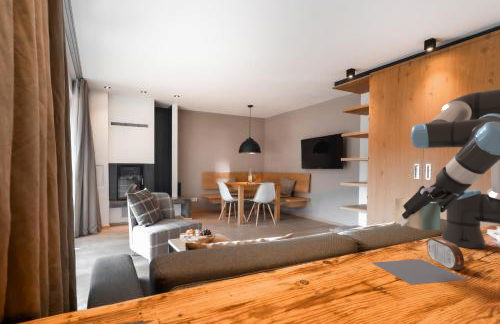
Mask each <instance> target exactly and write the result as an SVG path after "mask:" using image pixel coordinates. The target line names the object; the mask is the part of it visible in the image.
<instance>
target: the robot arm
mask: <svg viewBox="0 0 500 324" xmlns="http://www.w3.org/2000/svg"><path fill="white" fill-rule="evenodd" d="M410 139H411V144H412V145H413V147H414V148H415V149H440V148H441V149H444V148H448V149H449V148H460V150H459V151H458V152H457V153H456V154H455V155H454V156H453V157H452V158H451V160H450V161H449V162H447V163H446V164H445V166H444V167H442V169H440V171H439V172H438V173H437V174H436V175H435V182H434V183H433V184H431V185H430V186H429V187H425V186H424V185H422V186H420V187H419V189H418V191H416V193H415V194H414V195H412V197H410V198H411V199H410V200H408V201H407V202H406V203H405V204H404V205H403V207H404V209H405V210H406V211H405V212H404V213H403V214H402V215H401V216H400V217H399V218H398V221H399V223H398V224H400V226H401V227H405V226H406V224H407V223H408V222H409V221H410V220H411V219H412V218H413V217H414V216H415V213H416V212H417V211H419V210H420V209H421V208H422V207H423V206H426V205H428V204H429V203H430V202H436V203H439V206H440V214H442V213H444V212H446V223H445V226H444V228H443V231H442V233H441V237H440V238H442V239H444V240H446V241H449V242H451V243H453V244H455V245H457V246H458V247H460V248H466V249H467V248H468V249H476V250H477V249H485V248H486V240H485V237H484V235H483V232H482V229H481V222H482V223H489V224H495V225H496V224H497V225H500V88H499V89H491V90H485V91H480V92H479V91H476V92H471V93H467V94H465V95H462V96H459V97H456V98H455V99H452V100H450V101H449V102H447V103H445V104H444V105H443V107H442V108H441V110H440V112H439V113H438V114H437V115H436V116H435V117H434V118H433V119H432V120H431V121H429V122H428V123H427V122H426V123H425V122H423V123H419V124H414V125H413V126H412V128H411V131H410ZM487 171H490V176H491V177H490V179H491V187H490V188H489V189H488V190H486V193H482V190H479V189H469V188H470V187H471V186H472V184H473V185H474V184H475V183H476V182H477V181H478V180H479V179H480V178H481V177H483V176H484V175H485V173H486V172H487ZM468 189H469V190H468Z"/></svg>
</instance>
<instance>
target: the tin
mask: <svg viewBox="0 0 500 324" xmlns="http://www.w3.org/2000/svg"><path fill="white" fill-rule="evenodd" d="M426 248H427V249H426V250H427V251H426V252H427V254H428V256H429V258H430V259H431V260H432V261H435V262H436V263H438V264H439V265H442V266H443V267H446V268H447V269H449V270H452V271H456V270H457V271H461V270H462V269H463V268H464V265H465V257H464V254H463V252H462V250H461V247H460V248H459V246H457V245H455V244H453V243H451V242H449V241H446V240H444V239H442V238H441V237H439V236H436V237H429V238H428V239H427V241H426Z"/></svg>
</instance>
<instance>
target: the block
mask: <svg viewBox="0 0 500 324" xmlns="http://www.w3.org/2000/svg"><path fill="white" fill-rule="evenodd" d="M411 198H412V197H393V219H392V220H393V223H397V224H400V223H399V221H398V218H399V217H400V216H401V215H402V214H403V213H404V212H405V211H406V210H405V209H404V207H403V205H404V204H405V203H406V202H407V201H408V200H410V199H411ZM405 226H406V227H407V226H408V227H411V228H413V229H416V230H420V231H440V230H441V212H440V206H439V203H436V202H430V203H429V204H428V205H426V206H423V207H422V208H421V209H420V210H419V211H417V212H416V213H415V216H414V217H413V218H412V219H411V220H410V221H409V222H408V223H407V224H406V225H405Z"/></svg>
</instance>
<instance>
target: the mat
mask: <svg viewBox="0 0 500 324" xmlns="http://www.w3.org/2000/svg"><path fill="white" fill-rule="evenodd" d="M370 263H371V264H373V265H375V266H376V267H378V268H380V269H382V270H384V271H385V272H387V273H389V274H391V275H392V276H394V277H396V278H398V279H399V280H402V281H403V282H405V283H407V284H408V285H421V284H422V285H423V284H434V283H435V284H436V283H447V282H456V281H459V282H460V281H466V280H467V281H469V280H470V279H469V278H466V277H464V276H462V275H460V274H457V273H454V272H452V271H450V270H448V269H445V268H443V267H440V266H438V265H436V264H433V263H431V262H429V261H427V260H424V259H422V258H419V259H418V258H417V259H405V260H404V259H403V260H390V261H388V260H387V261H386V260H385V261H371V262H370Z"/></svg>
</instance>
